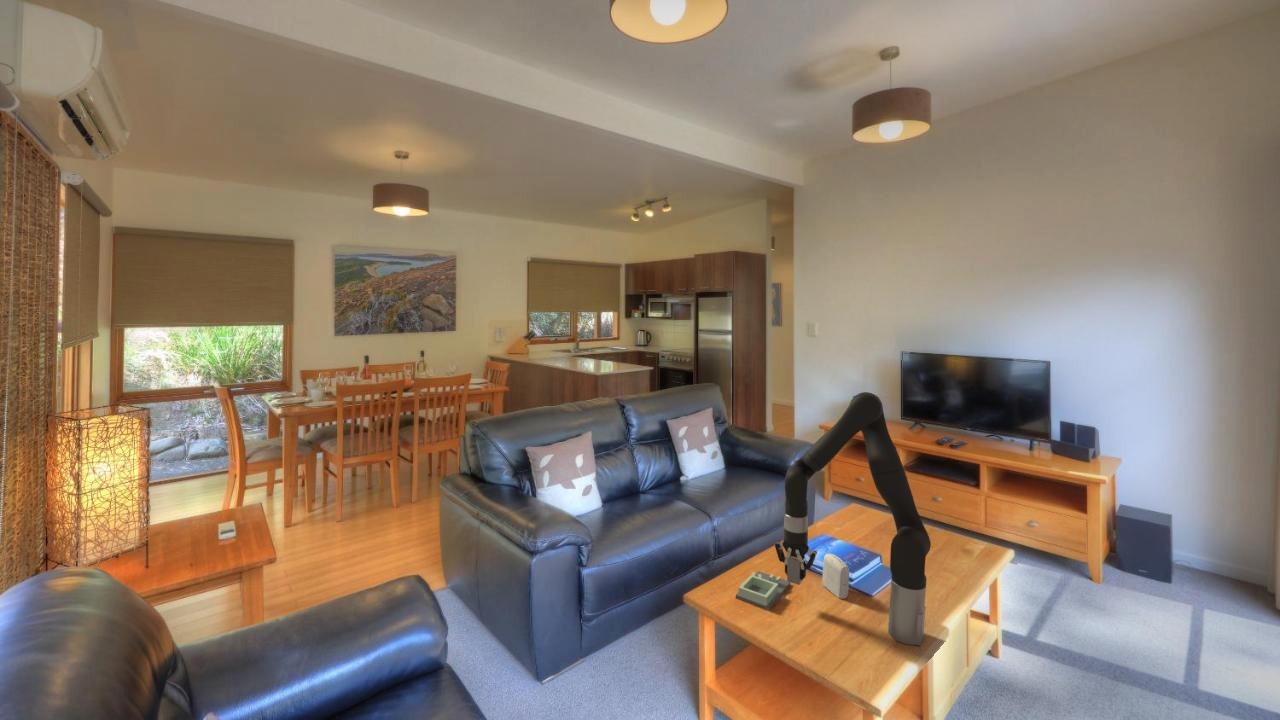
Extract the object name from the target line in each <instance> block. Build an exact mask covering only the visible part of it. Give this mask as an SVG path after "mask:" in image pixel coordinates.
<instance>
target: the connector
mask: <svg viewBox="0 0 1280 720" xmlns="http://www.w3.org/2000/svg"><path fill="white" fill-rule="evenodd" d="M800 569H801V567H800V561H798V558H797V557H793V556H791V557H790V558H787V575H786V576H787V577H786V578H787V579H786V580H787V581H788V582H790V584H791V583H793V584H795V585H799V586H800V585H801V583H802V582H803V580H800Z"/></svg>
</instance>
